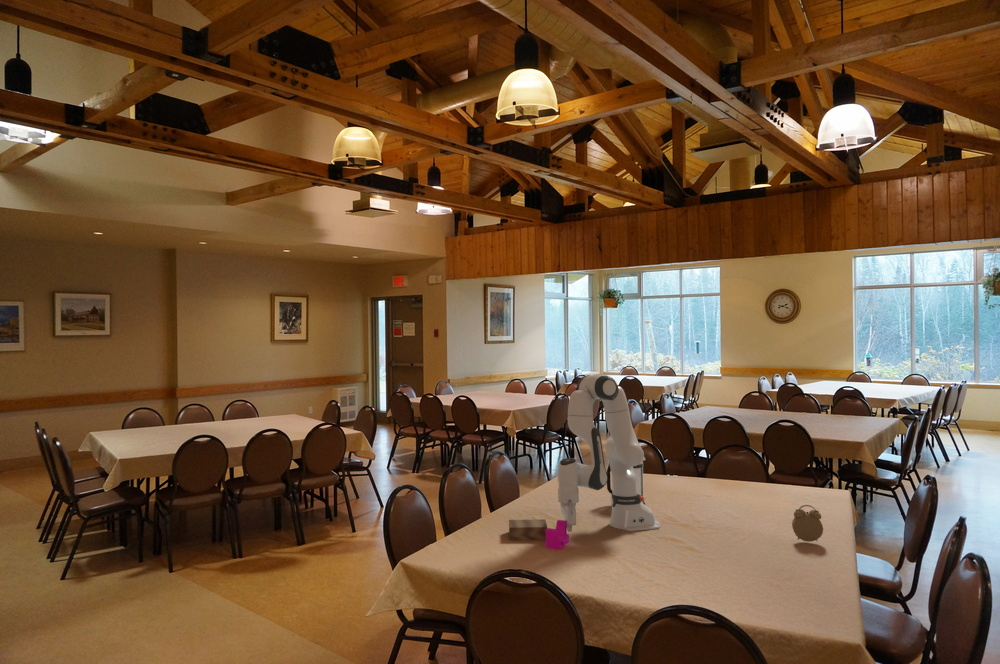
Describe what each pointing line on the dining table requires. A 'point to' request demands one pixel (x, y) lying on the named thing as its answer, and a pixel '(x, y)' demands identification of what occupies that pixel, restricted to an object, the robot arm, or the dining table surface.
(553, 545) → the toy block
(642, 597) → the dining table surface
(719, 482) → the dining table surface
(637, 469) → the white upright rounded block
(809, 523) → the alarm clock
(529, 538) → the walnut plinth
